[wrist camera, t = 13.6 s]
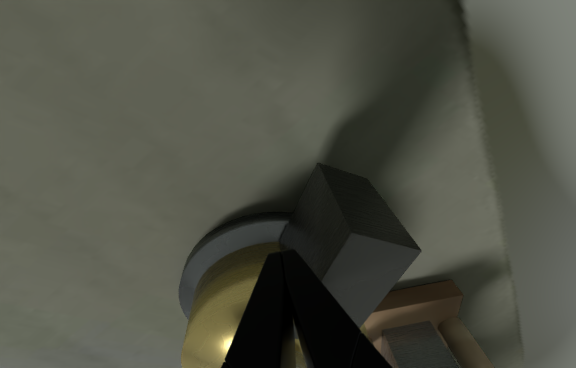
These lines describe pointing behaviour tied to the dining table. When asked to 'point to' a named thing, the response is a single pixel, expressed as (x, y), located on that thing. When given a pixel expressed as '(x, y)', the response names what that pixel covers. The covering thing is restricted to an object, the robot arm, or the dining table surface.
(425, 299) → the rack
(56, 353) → the dining table surface
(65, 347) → the dining table surface
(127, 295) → the dining table surface
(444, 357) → the long grey slab
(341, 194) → the brass disc with block
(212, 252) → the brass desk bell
